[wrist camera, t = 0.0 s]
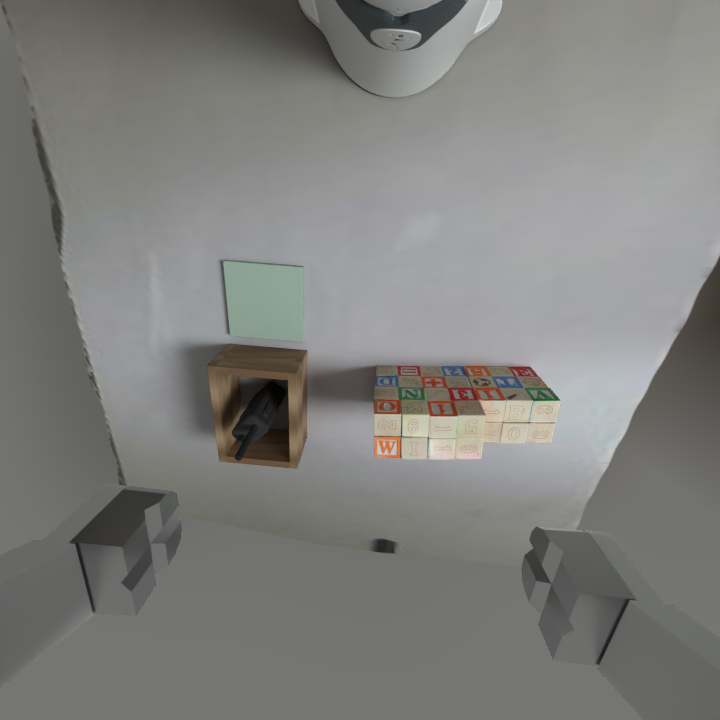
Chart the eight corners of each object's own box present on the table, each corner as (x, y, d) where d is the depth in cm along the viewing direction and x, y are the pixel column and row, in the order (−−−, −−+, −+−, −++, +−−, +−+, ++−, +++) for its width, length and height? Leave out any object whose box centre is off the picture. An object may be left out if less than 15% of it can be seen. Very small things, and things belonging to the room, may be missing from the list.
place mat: (224, 260, 44) (222, 260, 44) (303, 266, 44) (302, 267, 44) (231, 334, 49) (230, 335, 48) (303, 340, 48) (302, 341, 48)
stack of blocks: (531, 364, 48) (575, 416, 37) (523, 403, 51) (563, 462, 40) (375, 365, 50) (372, 414, 38) (375, 403, 52) (373, 459, 41)
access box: (229, 343, 49) (206, 365, 43) (307, 350, 49) (296, 373, 43) (237, 431, 56) (219, 461, 49) (306, 437, 56) (297, 468, 49)
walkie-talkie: (268, 409, 54) (230, 482, 40) (251, 395, 53) (206, 464, 39) (289, 391, 52) (256, 460, 39) (272, 376, 51) (232, 441, 38)
